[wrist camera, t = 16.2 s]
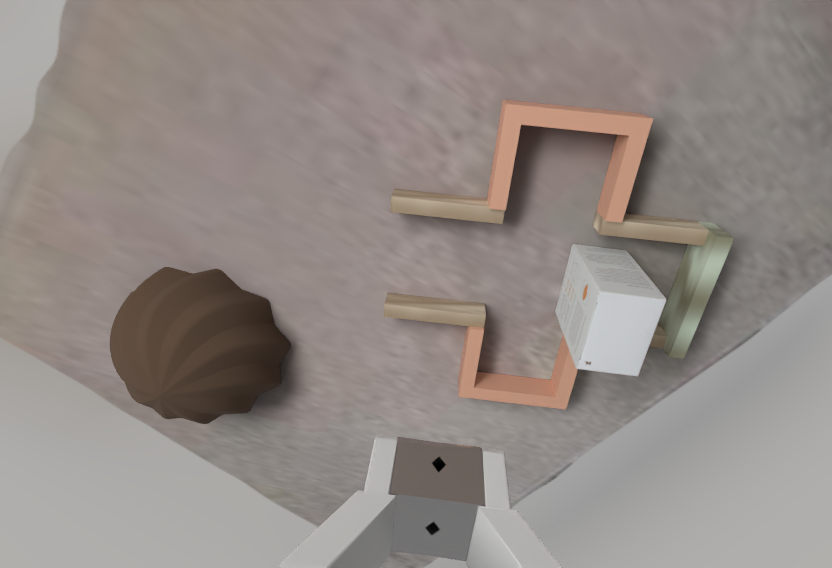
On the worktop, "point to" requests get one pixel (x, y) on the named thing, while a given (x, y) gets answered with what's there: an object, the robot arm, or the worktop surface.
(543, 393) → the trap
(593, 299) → the small box
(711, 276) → the trap lane
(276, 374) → the decorative dome
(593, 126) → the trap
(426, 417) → the worktop surface
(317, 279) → the worktop surface
